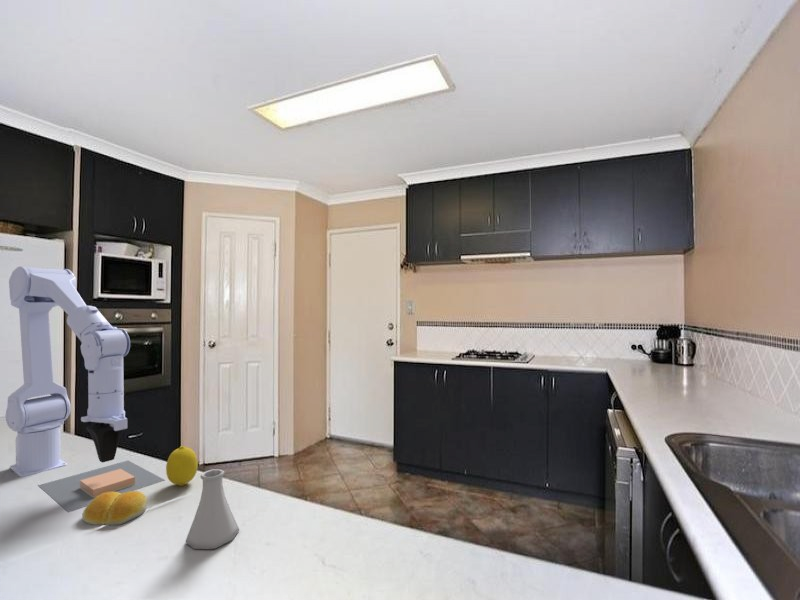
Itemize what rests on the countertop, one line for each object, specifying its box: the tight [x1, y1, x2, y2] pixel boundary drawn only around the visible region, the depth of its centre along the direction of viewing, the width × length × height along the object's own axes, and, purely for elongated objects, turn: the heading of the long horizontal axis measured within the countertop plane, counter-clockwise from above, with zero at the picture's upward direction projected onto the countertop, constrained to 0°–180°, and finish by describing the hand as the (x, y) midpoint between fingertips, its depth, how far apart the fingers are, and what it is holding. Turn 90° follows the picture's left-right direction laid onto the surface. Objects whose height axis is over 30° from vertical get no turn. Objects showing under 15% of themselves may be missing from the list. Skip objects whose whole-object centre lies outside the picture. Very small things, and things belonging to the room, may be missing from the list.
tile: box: [80, 469, 135, 498], centre depth 83 cm, size 2×7×7 cm
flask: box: [185, 468, 240, 550], centre depth 66 cm, size 7×7×10 cm
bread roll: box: [81, 490, 148, 526], centre depth 73 cm, size 8×9×4 cm
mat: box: [37, 460, 165, 513], centre depth 85 cm, size 18×16×1 cm
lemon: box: [165, 445, 199, 487], centre depth 84 cm, size 6×6×8 cm
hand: (106, 460), depth 83 cm, fingers closed
